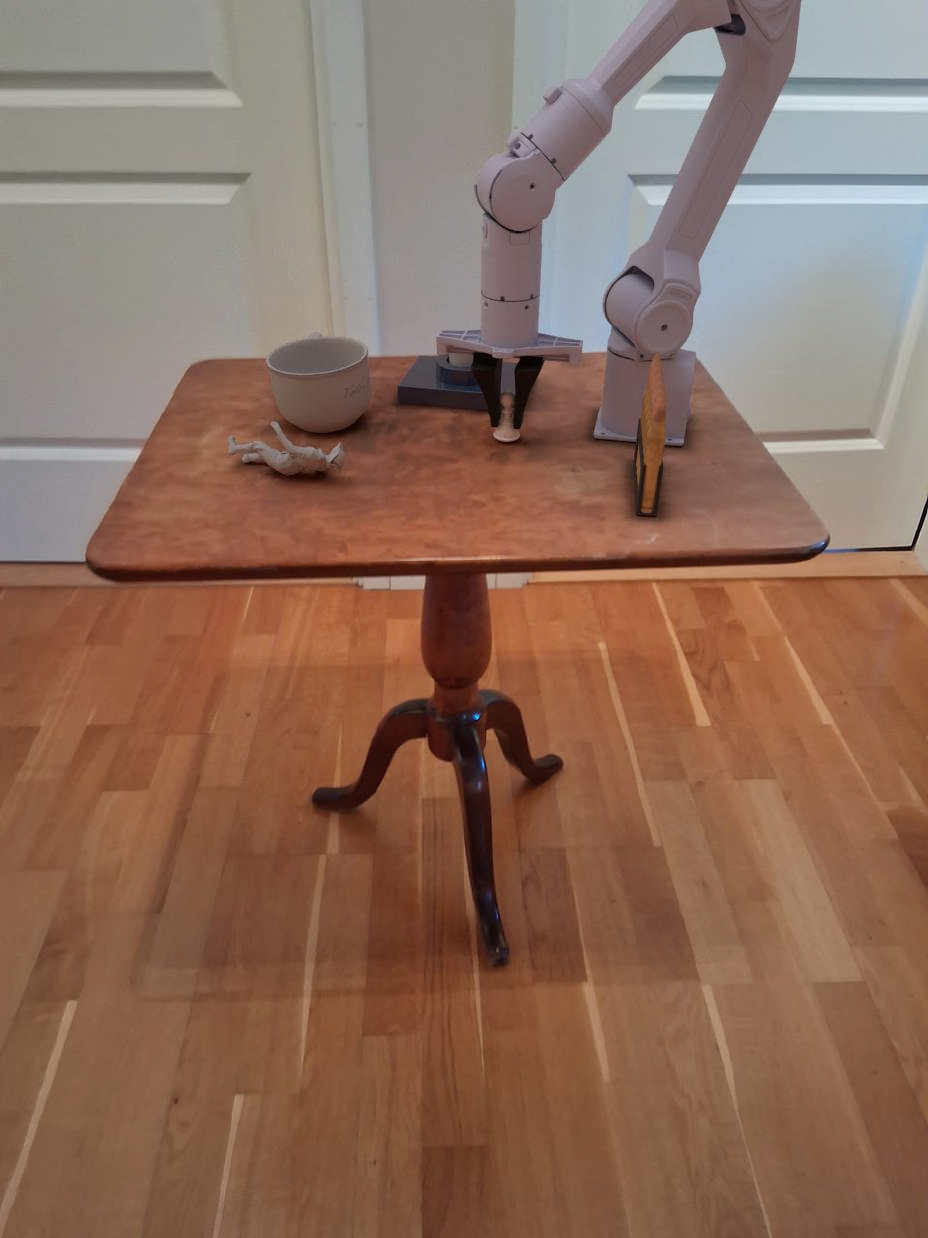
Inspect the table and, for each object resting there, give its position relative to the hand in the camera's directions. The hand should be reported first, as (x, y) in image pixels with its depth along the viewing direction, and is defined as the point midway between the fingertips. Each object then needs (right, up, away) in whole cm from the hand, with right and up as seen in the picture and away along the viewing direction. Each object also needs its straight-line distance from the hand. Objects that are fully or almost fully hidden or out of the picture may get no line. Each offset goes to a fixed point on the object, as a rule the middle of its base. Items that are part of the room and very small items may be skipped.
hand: (506, 424), depth 94 cm
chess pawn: (0, -1, +1) cm, 2 cm away
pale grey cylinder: (-4, +9, +10) cm, 14 cm away
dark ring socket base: (-4, +6, +12) cm, 14 cm away
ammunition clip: (+13, -8, -8) cm, 17 cm away
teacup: (-20, +2, +6) cm, 21 cm away
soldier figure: (-22, -6, -5) cm, 23 cm away
